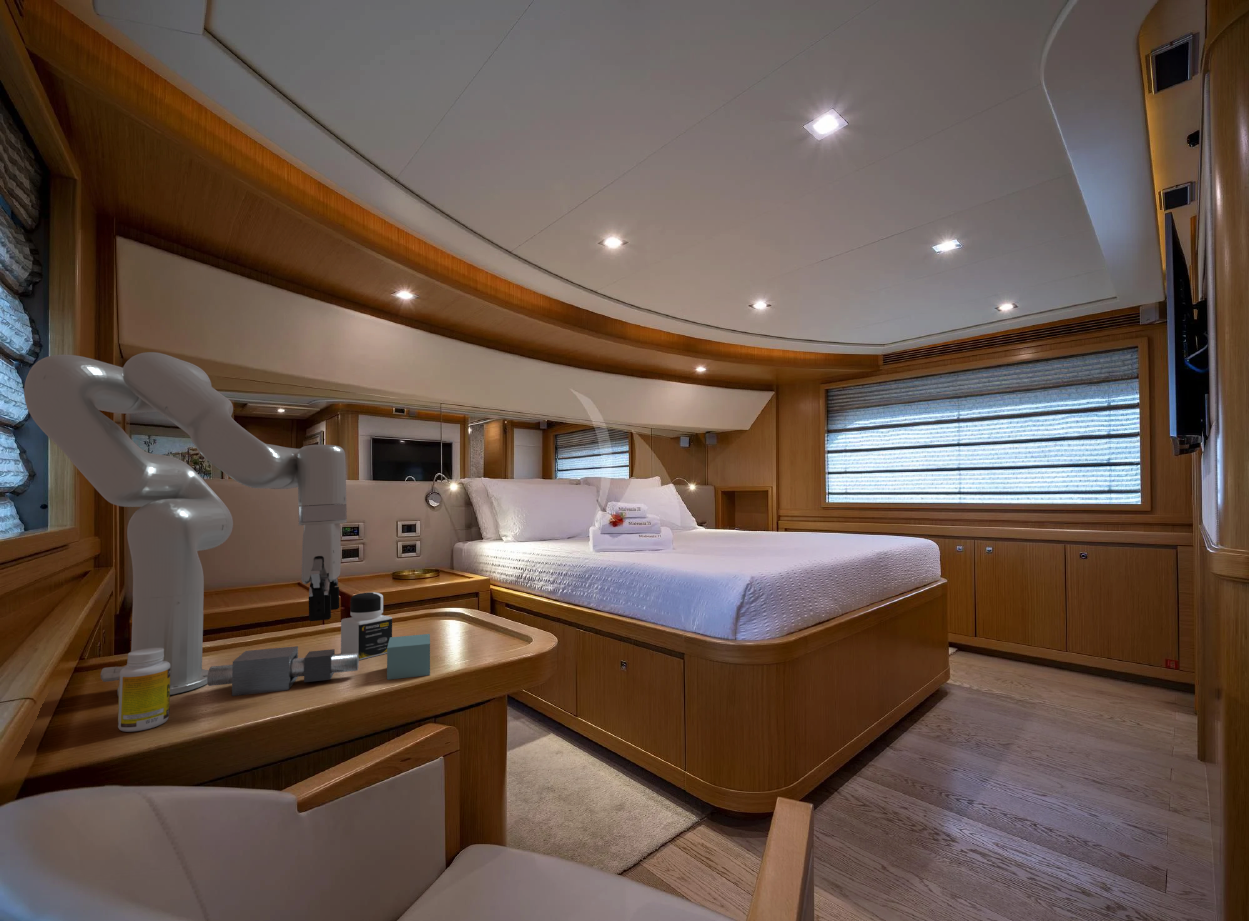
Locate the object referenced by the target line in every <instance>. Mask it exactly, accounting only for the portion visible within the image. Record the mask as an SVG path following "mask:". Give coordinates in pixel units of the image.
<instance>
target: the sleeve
mask: <svg viewBox="0 0 1249 921" xmlns="http://www.w3.org/2000/svg"><path fill="white" fill-rule="evenodd" d="M295 658H299V646H285V647H276V648H274V647H273V648H263V649H254V650H245V651H244V652H242V653H241V654H240V655H239V656H238V657H236V658H235V659H234V660H233V661H232V665H233V669H232V685H231V697H235V696H247V695H255V694H256V695H257V694H263V693H272V692H280V691H281V692H282V691H289V690H290V689H291V687H292V686H293V685H294V683H295V682H296V681H297V679H298V678H299V677H290V661H291V660H292V659H295Z"/></svg>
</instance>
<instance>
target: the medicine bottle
mask: <svg viewBox="0 0 1249 921" xmlns="http://www.w3.org/2000/svg"><path fill="white" fill-rule="evenodd" d="M383 613H384V595H383V594H382V593H380V592H374V591H373V592H370V591H369V592H360V593H356V594H354V595H352V596H351V597H350V616H351V617H347V618H346V617H345V618H342V619H341V621H340V654H348V653H359V661H362V660H365V659H366V660H367V659H370V658H375V657H378V656H382V655H387V647H388V643H389V639H390V637H393V617H392V616H389V615H384V614H383Z"/></svg>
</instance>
